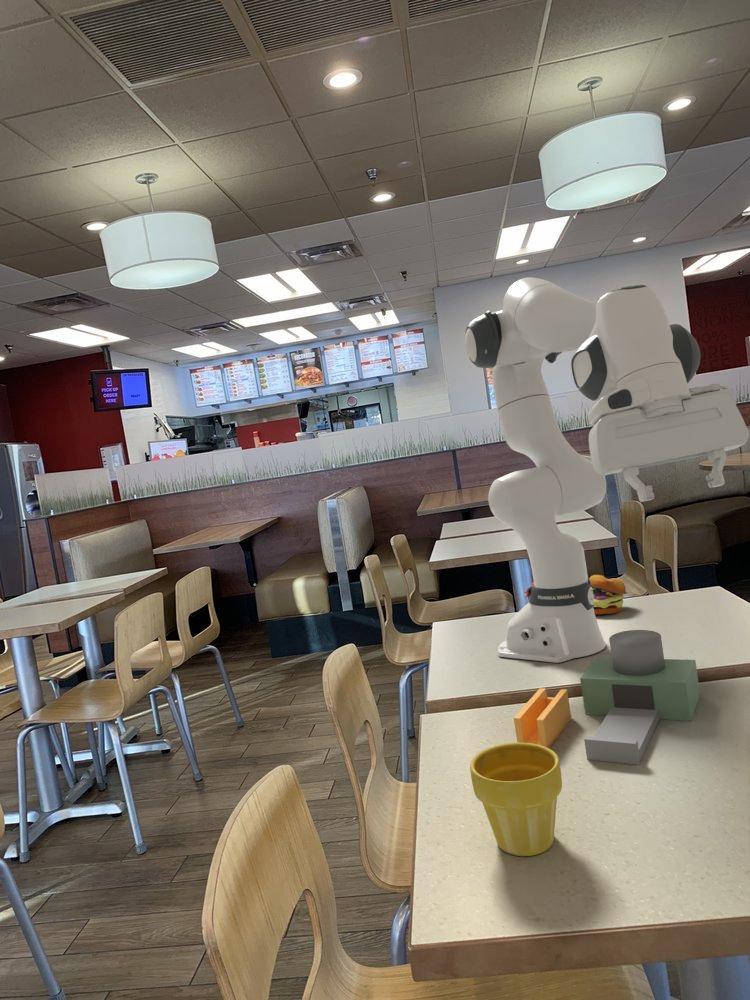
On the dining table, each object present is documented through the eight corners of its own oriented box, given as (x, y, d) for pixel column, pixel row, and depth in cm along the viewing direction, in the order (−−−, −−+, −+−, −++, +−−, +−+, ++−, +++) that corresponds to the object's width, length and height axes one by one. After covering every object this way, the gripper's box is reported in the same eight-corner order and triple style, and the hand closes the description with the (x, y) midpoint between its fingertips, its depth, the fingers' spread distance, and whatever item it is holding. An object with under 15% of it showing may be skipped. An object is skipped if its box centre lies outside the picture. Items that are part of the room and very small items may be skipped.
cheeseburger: (570, 613, 173) (572, 572, 173) (604, 613, 177) (606, 573, 177) (598, 619, 163) (600, 576, 164) (634, 619, 167) (635, 577, 168)
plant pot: (550, 808, 88) (538, 734, 87) (586, 853, 78) (573, 769, 77) (471, 827, 86) (459, 752, 86) (498, 876, 76) (484, 791, 76)
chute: (518, 749, 106) (513, 718, 105) (544, 717, 116) (539, 688, 115) (547, 752, 103) (542, 720, 103) (571, 719, 113) (567, 689, 113)
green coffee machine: (556, 756, 101) (545, 683, 100) (601, 690, 122) (592, 629, 121) (673, 768, 92) (662, 688, 92) (700, 695, 113) (691, 630, 113)
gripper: (718, 388, 98) (747, 482, 95) (575, 417, 98) (601, 512, 95) (739, 372, 92) (771, 472, 89) (587, 403, 92) (614, 503, 89)
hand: (682, 493), depth 92 cm, fingers open, 8 cm apart
